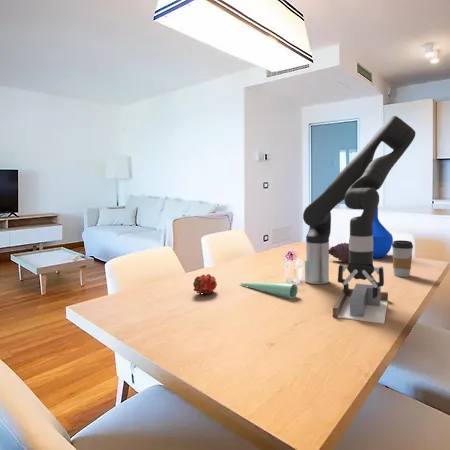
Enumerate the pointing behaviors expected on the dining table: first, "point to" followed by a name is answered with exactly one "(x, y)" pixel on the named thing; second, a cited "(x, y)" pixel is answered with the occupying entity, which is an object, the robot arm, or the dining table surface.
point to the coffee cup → (402, 257)
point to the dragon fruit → (204, 284)
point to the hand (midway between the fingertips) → (360, 296)
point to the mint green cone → (275, 288)
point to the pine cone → (340, 252)
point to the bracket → (363, 299)
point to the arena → (343, 297)
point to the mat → (370, 315)
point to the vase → (380, 238)
